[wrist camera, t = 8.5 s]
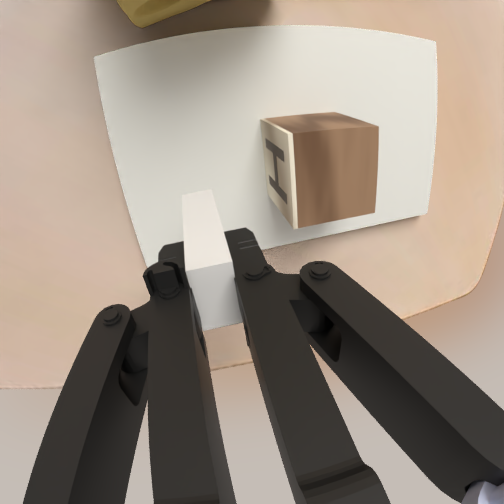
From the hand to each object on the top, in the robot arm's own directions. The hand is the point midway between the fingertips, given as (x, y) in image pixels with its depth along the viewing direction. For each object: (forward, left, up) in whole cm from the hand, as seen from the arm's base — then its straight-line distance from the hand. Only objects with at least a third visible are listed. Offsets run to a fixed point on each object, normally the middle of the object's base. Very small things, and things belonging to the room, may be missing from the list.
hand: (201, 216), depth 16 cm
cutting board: (+9, +1, -9) cm, 12 cm away
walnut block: (+5, 0, -5) cm, 7 cm away
